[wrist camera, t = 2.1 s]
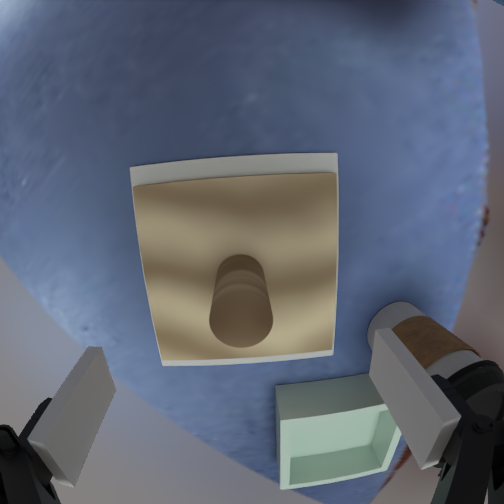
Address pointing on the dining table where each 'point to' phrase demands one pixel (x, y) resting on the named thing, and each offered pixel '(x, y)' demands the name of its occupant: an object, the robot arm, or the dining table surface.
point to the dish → (332, 431)
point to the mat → (238, 168)
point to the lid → (240, 264)
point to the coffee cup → (445, 358)
